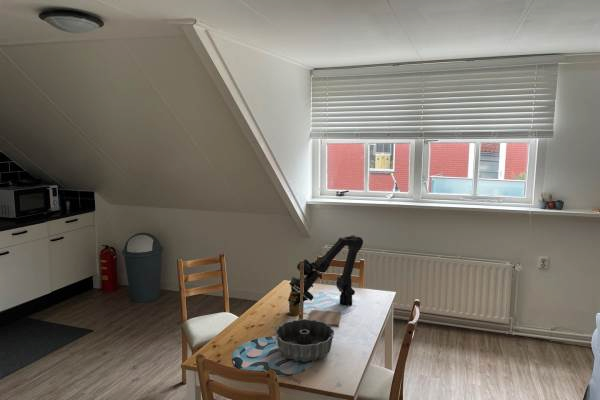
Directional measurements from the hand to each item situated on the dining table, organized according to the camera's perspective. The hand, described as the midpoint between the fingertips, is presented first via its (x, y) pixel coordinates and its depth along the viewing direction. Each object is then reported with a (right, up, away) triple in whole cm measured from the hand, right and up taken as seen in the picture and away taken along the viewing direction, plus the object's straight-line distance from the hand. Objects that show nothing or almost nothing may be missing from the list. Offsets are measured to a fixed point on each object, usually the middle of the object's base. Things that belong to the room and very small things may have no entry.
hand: (290, 303), depth 235 cm
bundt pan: (+7, -13, -38) cm, 41 cm away
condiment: (+1, -7, +2) cm, 7 cm away
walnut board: (+18, -7, -4) cm, 20 cm away
